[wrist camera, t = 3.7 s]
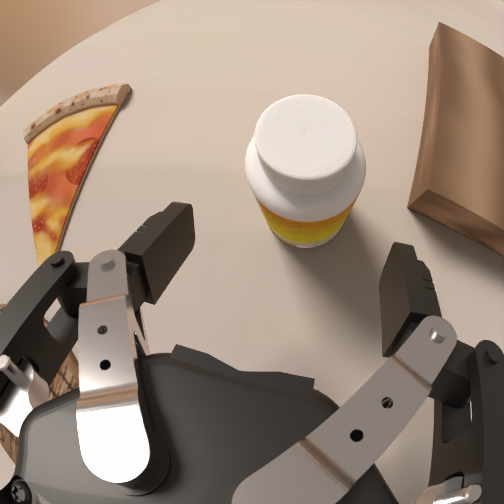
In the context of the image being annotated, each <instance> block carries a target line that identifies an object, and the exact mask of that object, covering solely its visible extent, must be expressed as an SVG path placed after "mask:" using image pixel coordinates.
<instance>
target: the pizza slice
mask: <svg viewBox="0 0 504 504" xmlns="http://www.w3.org/2000/svg"><path fill="white" fill-rule="evenodd" d="M131 89H132V88H131V87H130V86H129V85H128V84H116V85H110V86H105V87H100V88H96V89H93V90H89V91H86V92H83V93H80V94H78V95H75V96H73V97H71V98H68V99H66V100H64V101H62V102H61V103H59V104H57V105H56V106H54V107H53V108H51V109H49V110H48V111H46V112H45V113H44V114H43V115H41V116H40V117H39V118H38V119H36V120H35V121H34V122H33V123H32V124H30V125H29V126H28V127H27V128H26V129H25V130H24V131H23V136H24V139H25V141H26V143H27V144H28V183H29V198H30V210H31V219H32V227H33V235H34V241H35V248H36V254H37V259H38V265H39V267H40V266H41V264H42V263H43V262H44V261H45V260H46V259H47V258H48V257H49V256H51V255H52V254H54V253H57V252H58V251H59V248H60V245H61V242H62V238H63V235H64V232H65V229H66V226H67V223H68V221H69V218H70V215H71V212H72V209H73V207H74V204H75V201H76V199H77V196H78V194H79V191H80V189H81V186H82V184H83V182H84V179H85V177H86V175H87V172H88V170H89V168H90V166H91V163H92V161H93V159H94V157H95V155H96V153H97V151H98V149H99V146H100V144H101V142H102V140H103V138H104V136H105V135H106V133H107V131H108V129H109V127H110V125H111V123H112V121H113V119H114V118H115V116H116V114H117V112H118V110H119V109H120V107H121V105H122V104H123V102H124V100H125V98H126V97H127V95H128V93H129V92H130V90H131Z"/></svg>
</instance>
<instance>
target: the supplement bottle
mask: <svg viewBox="0 0 504 504" xmlns="http://www.w3.org/2000/svg"><path fill="white" fill-rule="evenodd" d="M245 171H246V176H247V180H248V183H249V185H250V188H251V190H252V192H253V194H254V196H255V198H256V200H257V202H258V205H259V207H260V209H261V211H262V213H263V215H264V217H265V220H266V222H267V224H268V226H269V227H270V229H271V230H272V232H273V233H274V234H275V235H276V236H277V237H278V238H279V239H280V240H282V241H283V242H285V243H287V244H289V245H291V246H294V247H299V248H312V247H316V246H320V245H322V244H324V243H326V242H328V241H329V240H331V239H332V238H333V237H334V236H335V235H336V234H337V233H338V231H339V230H340V228H341V227H342V225H343V223H344V221H345V219H346V217H347V216H348V214H349V212H350V210H351V208H352V206H353V205H354V203H355V201H356V199H357V197H358V195H359V193H360V191H361V189H362V186H363V183H364V180H365V175H366V160H365V155H364V152H363V149H362V147H361V144H360V142H359V141H358V139H357V131H356V128H355V125H354V123H353V121H352V119H351V118H350V116H349V115H348V114H347V113H346V112H345V111H344V110H343V109H342V108H341V107H340V106H339V105H337V104H336V103H334V102H332V101H330V100H328V99H326V98H323V97H320V96H315V95H293V96H289V97H285V98H283V99H280V100H278V101H277V102H275V103H273V104H272V105H271V106H269V107H268V108H267V109H266V110H265V111H264V112H263V113H262V115H261V116H260V118H259V120H258V122H257V125H256V128H255V134H254V136H253V138H252V140H251V141H250V144H249V146H248V149H247V152H246V157H245Z"/></svg>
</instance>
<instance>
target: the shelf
mask: <svg viewBox="0 0 504 504" xmlns="http://www.w3.org/2000/svg"><path fill="white" fill-rule="evenodd" d="M407 208H409V209H411V210H414V211H416V212H418V213H420V214H422V215H425V216H427V217H429V218H431V219H433V220H435V221H437V222H439V223H442V224H444V225H446V226H448V227H450V228H452V229H454V230H456V231H458V232H460V233H462V234H464V235H465V236H467V237H469V238H471V239H473V240H475V241H477V242H479V243H481V244H482V245H484V246H486V247H488V248H490V249H491V250H493V251H495V252H497V253H498V254H500V255H502V256H504V58H503V57H502V56H500V55H499V54H497V53H496V52H494V51H493V50H491V49H489V48H488V47H486V46H484V45H483V44H481V43H479V42H477V41H476V40H474V39H472V38H470V37H469V36H467V35H465V34H463V33H461V32H459V31H457V30H455V29H453V28H451V27H449V26H447V25H445V24H443V23H440V22H439V23H438V26H437V29H436V31H435V34H434V37H433V39H432V42H431V44H430V48H429V72H428V86H427V97H426V106H425V115H424V122H423V130H422V136H421V143H420V149H419V154H418V160H417V165H416V170H415V175H414V180H413V185H412V189H411V194H410V198H409V202H408V206H407Z"/></svg>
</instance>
